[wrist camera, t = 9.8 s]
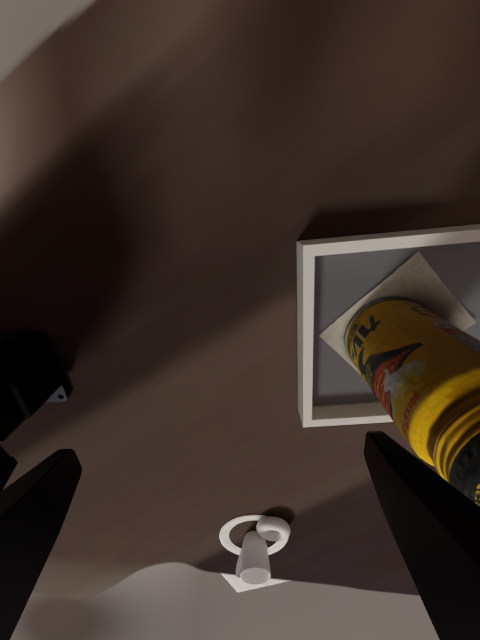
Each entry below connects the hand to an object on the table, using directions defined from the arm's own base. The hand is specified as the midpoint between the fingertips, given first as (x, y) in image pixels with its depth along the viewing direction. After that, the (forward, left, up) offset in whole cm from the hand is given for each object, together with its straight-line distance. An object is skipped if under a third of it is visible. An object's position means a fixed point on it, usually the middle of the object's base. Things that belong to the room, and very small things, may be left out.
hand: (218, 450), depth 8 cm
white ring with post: (+3, -29, -14) cm, 32 cm away
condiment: (+12, -3, -12) cm, 17 cm away
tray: (+12, -3, -13) cm, 18 cm away
